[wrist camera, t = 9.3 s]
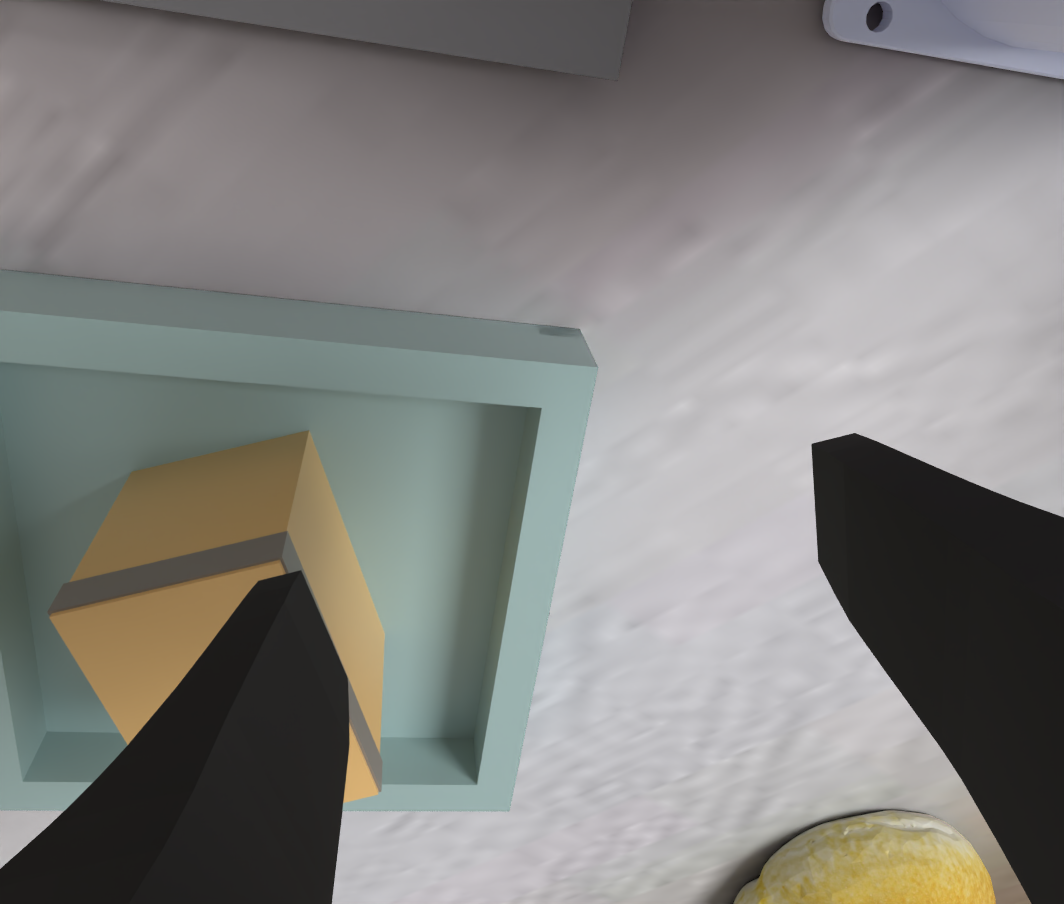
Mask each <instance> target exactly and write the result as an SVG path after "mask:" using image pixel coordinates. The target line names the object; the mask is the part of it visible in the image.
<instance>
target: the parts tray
mask: <svg viewBox="0 0 1064 904" xmlns="http://www.w3.org/2000/svg"><path fill="white" fill-rule="evenodd" d="M597 371H598V366H597V364H596V362H595V360H594V358H593V356H592V354H591V352H590V350H589V347H588V345H587V343H586V341H585V339H584V337H583V335H582V333H581V331H580V329H573V328H563V327H554V326H544V325H534V324H525V323H515V322H505V321H495V320H486V319H476V318H466V317H457V316H447V315H437V314H428V313H418V312H408V311H398V310H389V309H379V308H369V307H360V306H350V305H340V304H330V303H321V302H311V301H301V300H292V299H282V298H272V297H262V296H253V295H243V294H233V293H224V292H214V291H204V290H194V289H185V288H175V287H165V286H156V285H146V284H136V283H126V282H117V281H107V280H97V279H88V278H78V277H68V276H59V275H49V274H39V273H29V272H20V271H10V270H0V810H52V811H65V810H66V809H67V808H68V807H69V806H70V805H71V804H72V803H73V802H74V801H75V800H76V799H77V798H78V797H79V796H80V795H81V794H82V793H83V792H84V791H85V790H86V789H87V788H88V787H89V786H90V785H91V784H92V783H93V782H94V781H95V780H96V779H97V778H98V777H99V776H100V774H101V773H102V772H103V771H104V770H105V769H106V768H107V767H108V766H109V765H110V764H111V763H112V762H113V761H114V760H115V758H116V757H117V756H118V755H119V754H120V753H121V752H122V751H123V750H124V749H125V747H126V746H127V743H126V741H125V740H124V738H123V736H122V735H121V733H120V732H119V730H118V728H117V727H116V725H115V723H114V722H113V720H112V719H111V717H110V715H109V714H108V712H107V710H106V709H105V707H104V706H103V704H102V702H101V701H100V699H99V697H98V696H97V694H96V693H95V691H94V689H93V688H92V686H91V684H90V683H89V681H88V680H87V678H86V676H85V675H84V673H83V672H82V670H81V668H80V667H79V665H78V663H77V662H76V660H75V659H74V657H73V655H72V654H71V652H70V650H69V649H68V647H67V646H66V644H65V642H64V641H63V639H62V637H61V636H60V634H59V633H58V631H57V629H56V628H55V626H54V624H53V623H52V621H51V620H50V618H49V617H50V616H49V614H48V613H47V611H48V609H49V608H50V606H51V604H52V602H53V601H54V599H55V597H56V596H57V594H58V592H59V590H60V589H61V587H62V585H63V584H64V583H68V582H69V581H70V580H71V578H72V576H73V574H74V573H75V571H76V569H77V567H78V566H79V564H80V562H81V560H82V558H83V557H84V555H85V553H86V551H87V550H88V548H89V546H90V544H91V543H92V541H93V539H94V537H95V536H96V534H97V532H98V530H99V528H100V527H101V525H102V523H103V521H104V520H105V518H106V516H107V514H108V513H109V511H110V509H111V507H112V506H113V504H114V502H115V500H116V499H117V497H118V495H119V493H120V491H121V490H122V488H123V486H124V484H125V483H126V481H127V479H128V477H129V476H130V474H131V472H133V471H137V470H141V469H145V468H150V467H154V466H158V465H162V464H167V463H171V462H175V461H180V460H184V459H188V458H192V457H197V456H201V455H205V454H209V453H214V452H218V451H222V450H227V449H231V448H235V447H239V446H244V445H248V444H252V443H256V442H261V441H265V440H269V439H274V438H278V437H282V436H286V435H291V434H295V433H299V432H303V431H308V430H309V431H310V433H311V436H312V439H313V442H314V444H315V447H316V450H317V452H318V455H319V458H320V460H321V463H322V466H323V468H324V471H325V474H326V477H327V479H328V482H329V485H330V487H331V490H332V493H333V495H334V498H335V501H336V504H337V506H338V509H339V512H340V514H341V517H342V520H343V522H344V525H345V528H346V530H347V533H348V536H349V539H350V541H351V544H352V547H353V549H354V552H355V555H356V557H357V560H358V563H359V566H360V568H361V571H362V574H363V576H364V579H365V582H366V584H367V587H368V590H369V592H370V595H371V598H372V601H373V603H374V606H375V609H376V611H377V614H378V617H379V619H380V622H381V625H382V627H383V630H384V633H385V641H384V666H383V690H382V715H381V740H380V756H381V758H382V761H383V764H382V791H381V792H378V795H375V796H371V797H366V798H362V799H358V800H354V801H350V802H345V803H343V810H342V811H510V806H511V801H512V796H513V791H514V786H515V781H516V776H517V771H518V766H519V761H520V756H521V751H522V746H523V741H524V736H525V731H526V726H527V721H528V716H529V711H530V706H531V701H532V696H533V691H534V686H535V681H536V676H537V671H538V666H539V661H540V656H541V651H542V646H543V641H544V636H545V631H546V626H547V621H548V616H549V611H550V606H551V601H552V596H553V591H554V586H555V581H556V576H557V571H558V566H559V561H560V556H561V551H562V546H563V541H564V536H565V531H566V526H567V521H568V516H569V511H570V506H571V501H572V496H573V491H574V486H575V481H576V476H577V471H578V466H579V461H580V456H581V451H582V446H583V441H584V436H585V431H586V426H587V421H588V416H589V411H590V406H591V401H592V396H593V391H594V386H595V381H596V376H597Z"/></svg>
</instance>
